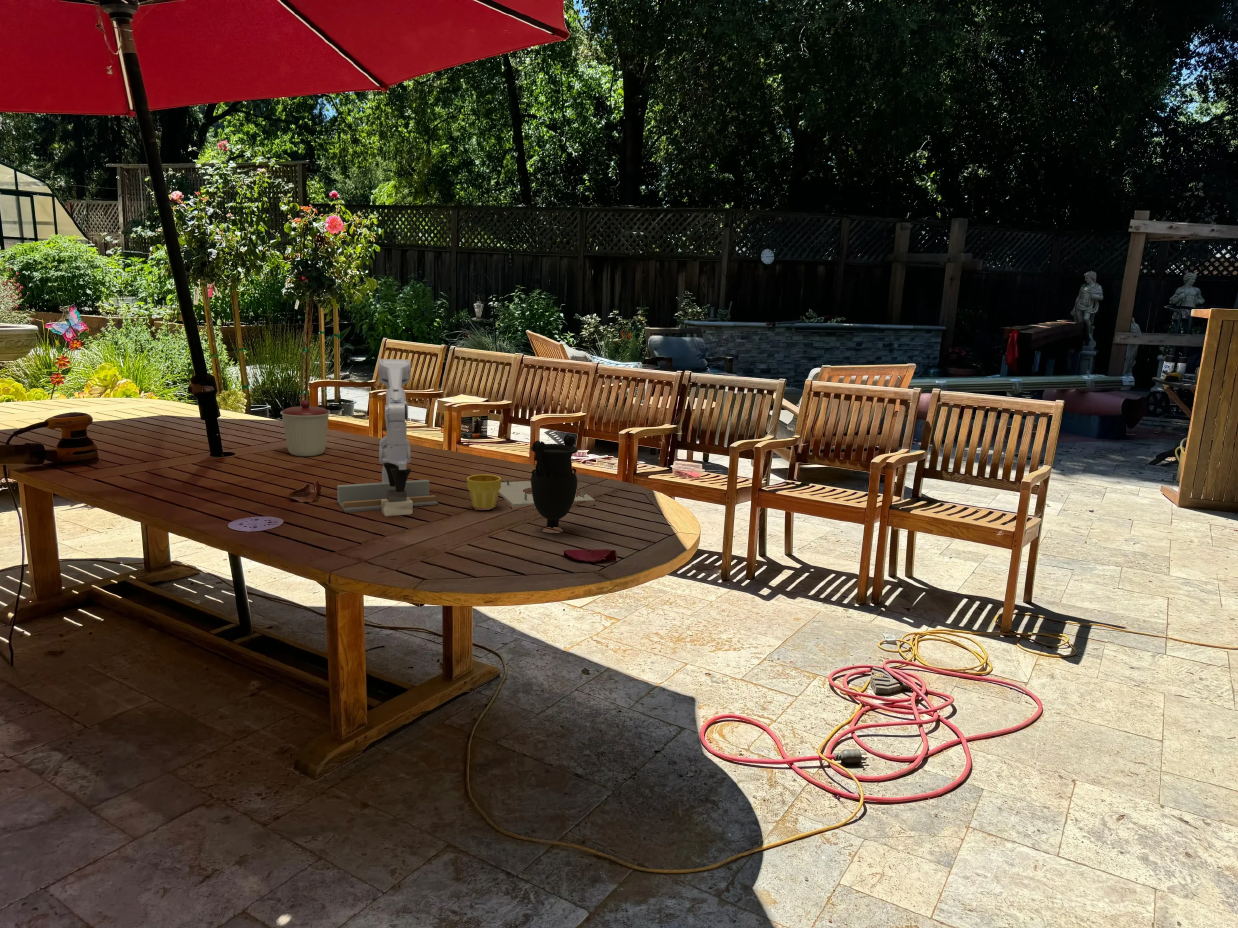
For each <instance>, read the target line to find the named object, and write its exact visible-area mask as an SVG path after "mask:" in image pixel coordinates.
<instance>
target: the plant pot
mask: <svg viewBox="0 0 1238 928" xmlns="http://www.w3.org/2000/svg"><path fill="white" fill-rule="evenodd" d="M501 482H502V478H501V477H500V476H498V475H494V474H487V473H486V474H484V473H483V474H474V475H469V476H468V477H467V478H466V488H467V490H469V495H470V499H471V504H472V507H473V506H474V507H477V508H492V507H495V508H496V504H497V500H498V491H499V490H500V489H501Z"/></svg>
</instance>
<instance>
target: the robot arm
mask: <svg viewBox="0 0 1238 928" xmlns="http://www.w3.org/2000/svg"><path fill="white" fill-rule="evenodd" d="M377 361H378V370H377V372H378V381H379V383H380V384H383V385H385V388H386V391H385V405H384V420H385V422H384V423H385V429H386V435H385V436H383V437H381V439H380V441H379V446H378V447H379V448H378V450H379V451H378V453H379V455H378V456H379V457H378V459H379V463H380V464H382V469H381V483H382V482H389V484H390V486H391V487H393V486H395V488H396V492H404V489H405V485H406V481H408V478H409V475H410V473H412V472H411V471H412V469H411V468H407V466H408V465H407V464H410V462H411V444H410V443H411V442H410V439H408V438H407V436H408V435H407V433H408V432H407V431H408V430H407V425H408V424H407V423H408V422H409V406H408V402H407V399H406V391H405V389H404V388H403V387H404V385H406V384H409V383H410V379H411V376H412V375H411V374H412V371H411V370H412V369H411V368H412V367H411V360H410V359H409V358H406V359H398V358H397V359H396V358H395V359H394V358H391V359H389V358H379V359H378V360H377Z"/></svg>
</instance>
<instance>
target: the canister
mask: <svg viewBox="0 0 1238 928" xmlns="http://www.w3.org/2000/svg"><path fill="white" fill-rule="evenodd" d="M279 414H280V415H282V423H283V430H284V437H285V442H286V448H287V451H288V453H290V455H292V456H295V457H315V456H320V455H322V454H323V453H324V452H325V449H326V446H327V437H328V428H329V427H328V426H329V416H330V414H331V411H330V410H328V409H326V408H325V407H321V406H311V402H310V400H307V399H303V400H301V401H300V406H293V407H292V406H291V407H287V408H285V409H283V410H281V411H280V413H279Z"/></svg>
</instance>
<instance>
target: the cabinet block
mask: <svg viewBox="0 0 1238 928" xmlns="http://www.w3.org/2000/svg"><path fill="white" fill-rule="evenodd" d="M381 503H382V510H381V513H382V515H384V517H392V516H404V515H405V516H406V515H413V514H412V513H413V511H414V510H413V508H414V507H413V501H412V500H410V499H409V498H407V491H406V490H405V489H404V492H396V489H395V490H387V499H381Z"/></svg>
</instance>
